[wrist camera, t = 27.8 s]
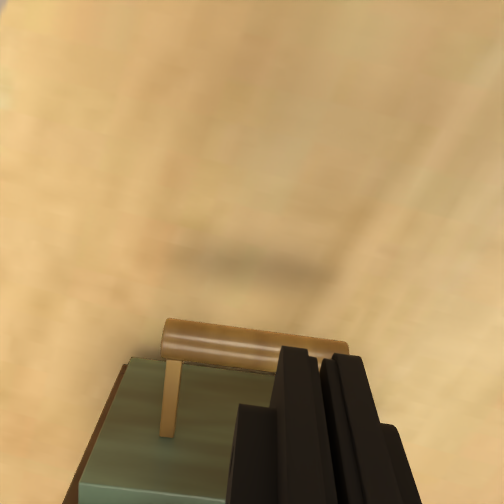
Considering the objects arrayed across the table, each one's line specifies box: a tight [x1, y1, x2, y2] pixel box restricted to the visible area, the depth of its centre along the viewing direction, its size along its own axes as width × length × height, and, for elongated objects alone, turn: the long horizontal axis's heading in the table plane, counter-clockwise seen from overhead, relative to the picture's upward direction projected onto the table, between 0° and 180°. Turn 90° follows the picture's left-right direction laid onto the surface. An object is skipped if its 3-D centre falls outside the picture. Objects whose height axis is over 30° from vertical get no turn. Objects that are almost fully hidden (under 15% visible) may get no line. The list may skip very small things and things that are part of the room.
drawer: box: [78, 318, 349, 504], centre depth 23 cm, size 19×11×8 cm, turn 172°
